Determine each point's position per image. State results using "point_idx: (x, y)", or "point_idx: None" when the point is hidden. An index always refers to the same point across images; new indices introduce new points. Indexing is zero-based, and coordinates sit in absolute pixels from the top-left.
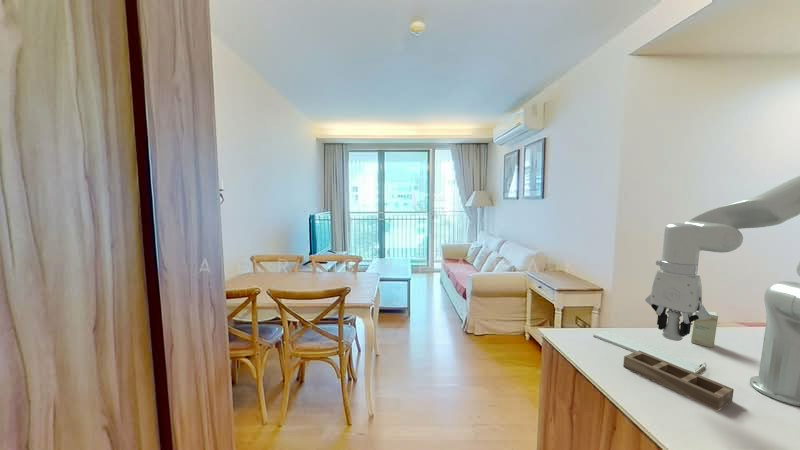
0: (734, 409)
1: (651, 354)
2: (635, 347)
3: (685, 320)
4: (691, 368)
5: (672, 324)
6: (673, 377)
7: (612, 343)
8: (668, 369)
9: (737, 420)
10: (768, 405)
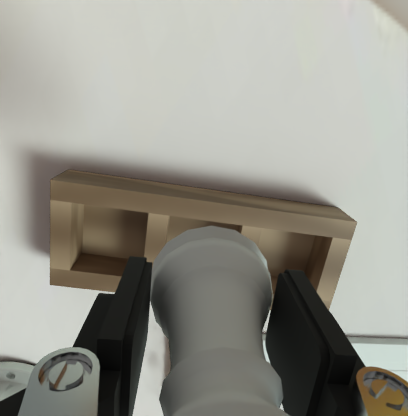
0: (47, 221)
1: None
2: None
3: (72, 378)
4: None
5: (213, 317)
6: (187, 202)
7: (405, 339)
8: None
9: (21, 162)
10: (12, 318)
